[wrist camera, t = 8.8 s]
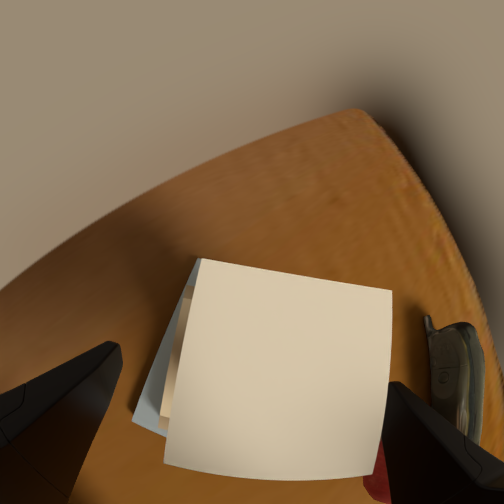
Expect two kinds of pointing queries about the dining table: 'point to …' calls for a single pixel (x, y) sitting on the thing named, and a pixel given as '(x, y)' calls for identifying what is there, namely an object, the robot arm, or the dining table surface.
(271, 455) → the block
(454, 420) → the mobile phone
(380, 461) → the onion
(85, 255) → the dining table surface
